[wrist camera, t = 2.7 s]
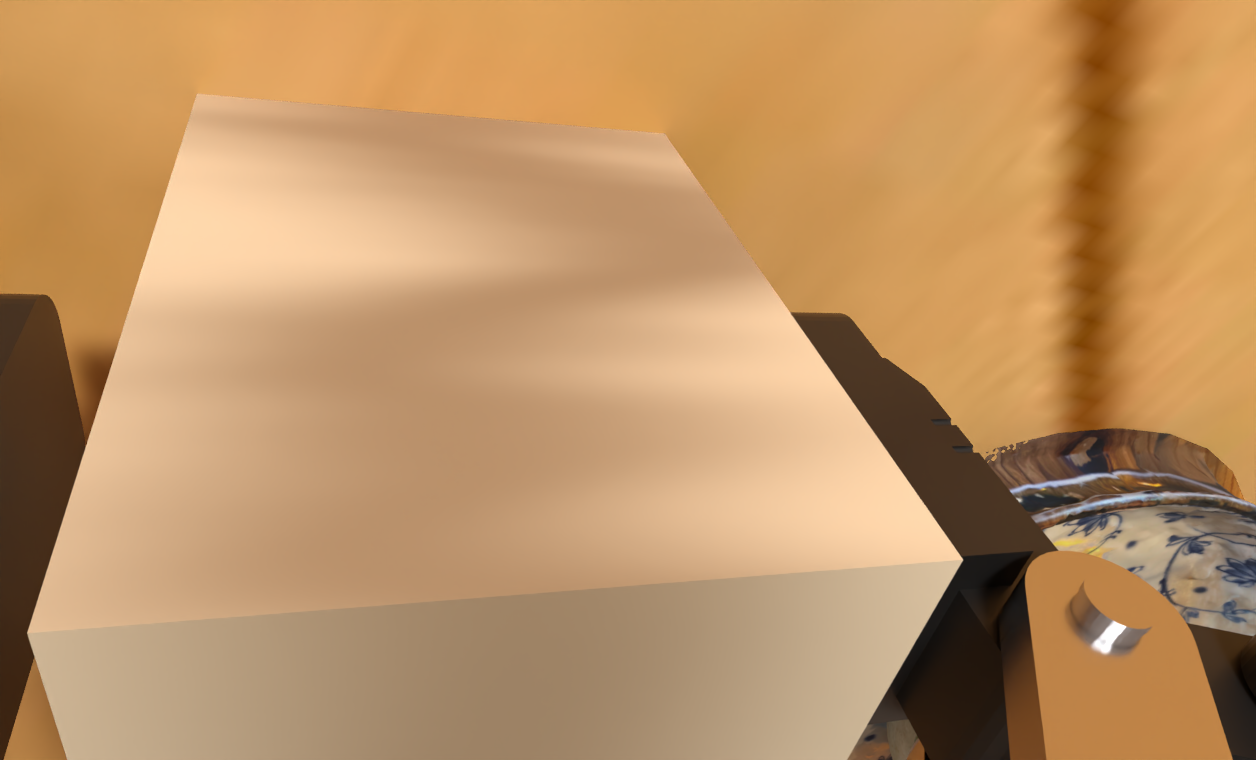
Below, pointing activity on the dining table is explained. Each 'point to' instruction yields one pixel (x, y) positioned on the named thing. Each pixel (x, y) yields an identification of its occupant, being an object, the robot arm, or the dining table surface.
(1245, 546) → the burger
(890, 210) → the dining table surface
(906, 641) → the oak block
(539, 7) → the dining table surface
